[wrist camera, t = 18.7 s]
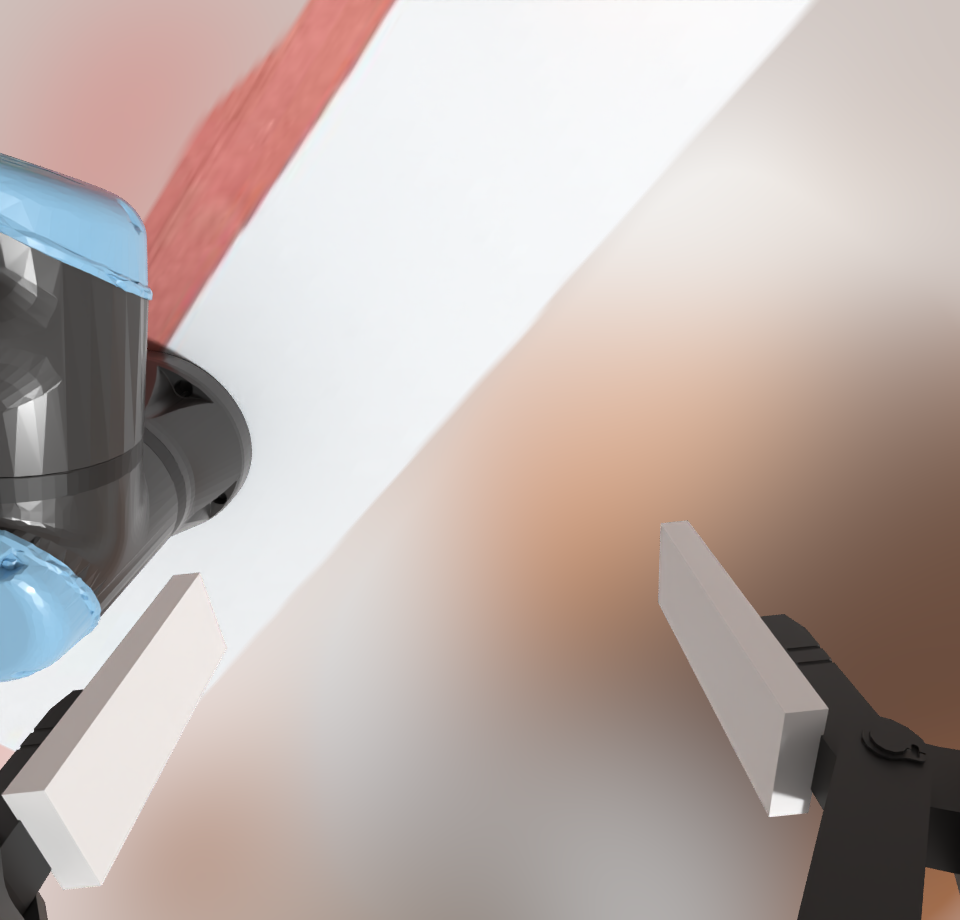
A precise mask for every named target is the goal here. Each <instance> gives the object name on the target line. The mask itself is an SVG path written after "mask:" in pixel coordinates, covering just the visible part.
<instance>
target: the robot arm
mask: <svg viewBox="0 0 960 920" xmlns="http://www.w3.org/2000/svg"><path fill="white" fill-rule="evenodd" d="M152 295H153V293H152V291H151V289H150V288H149V286H148V270H147V235H146V230H145V226H144V224H143V221H142V220H141V218H140V216H139V215H138V213H137V212H136V211H135V210H134V208H133V207H131V205H130V204H128V203H127V202H126V201H125V200H123V199H122V198H120V197H119V196H117V195H115V194H114V193H111V192H109V191H107V190H104V189H102V188H99V187H97V186H94V185H92V184H89V183H86V182H83V181H81V180H78V179H75V178H73V177H70V176H67V175H64V174H61V173H58V172H55V171H53V170H50V169H47V168H44V167H41V166H38V165H34V164H32V163H29V162H26V161H23V160H20V159H17V158H14V157H11V156H8V155H4V154H2V153H0V682H6V681H11V680H16V679H20V678H24V677H27V676H30V675H32V674H34V673H35V672H37V671H40V670H42V669H44V668H46V667H49V666H50V665H52V664H53V663H54V662H56V661H57V660H59V659H60V658H61V657H62V656H63V655H64V654H65V653H66V652H67V651H68V650H70V649H71V648H72V647H73V646H74V645H75V644H76V643H77V642H78V641H80V640H81V639H82V638H83V637H84V636H86V635H88V634H89V633H90V632H91V631H92V630H93V629H94V628H95V627H96V626H97V625H98V621H99V620H100V617H101V616H102V615H103V613H104V612H105V611H106V610H107V609H108V608H109V607H110V605H111V604H112V603H113V602H114V601H115V600H116V599H117V597H118V596H119V595H120V594H121V593H122V592H123V591H124V589H125V588H126V587H127V586H128V585H129V584H130V583H131V581H132V580H133V579H134V578H135V577H136V576H137V575H138V573H139V572H140V571H141V570H142V569H143V568H144V566H145V565H146V564H147V563H148V562H149V561H150V560H151V558H152V557H153V556H154V555H155V554H156V553H157V552H158V550H159V549H160V548H161V547H162V546H163V545H164V544H165V542H166V541H167V540H168V539H169V538H170V537H171V536H173V535H176V534H178V533H180V532H183V531H185V530H188V529H190V528H192V527H195V526H197V525H199V524H202V523H204V522H206V521H208V520H209V519H211V518H213V517H214V516H216V515H217V514H218V513H219V512H221V511H222V510H223V509H224V508H225V507H226V506H227V505H228V504H229V503H230V502H231V500H232V499H233V498H234V497H235V495H236V494H237V493H238V491H239V490H240V489H241V487H242V485H243V484H244V482H245V480H246V478H247V475H248V472H249V469H250V464H251V457H252V446H251V438H250V433H249V430H248V426H247V423H246V421H245V419H244V416H243V414H242V412H241V410H240V409H239V407H238V405H237V404H236V402H235V401H234V399H233V398H232V397H231V395H230V394H229V393H228V392H227V391H226V390H225V388H224V387H223V386H222V385H221V384H220V383H219V382H217V381H216V380H215V379H214V378H213V377H212V376H210V375H209V374H208V373H206V372H205V371H203V370H202V369H200V368H199V367H197V366H195V365H194V364H192V363H190V362H188V361H186V360H183V359H181V358H178V357H176V356H173V355H170V354H166V353H162V352H157V351H150V350H147V331H148V302H149V300H152ZM658 597H659V598H658V603H659V605H660V607H661V609H662V611H663V613H664V614H665V616H666V618H667V620H668V622H669V624H670V626H671V628H672V630H673V632H674V634H675V636H676V637H677V640H678V642H679V643H680V645H681V647H682V649H683V651H684V653H685V655H686V657H687V659H688V661H689V663H690V665H691V667H692V669H693V671H694V673H695V675H696V677H697V679H698V680H699V682H700V684H701V686H702V688H703V690H704V692H705V694H706V696H707V698H708V700H709V702H710V704H711V705H712V708H713V709H714V711H715V713H716V715H717V717H718V719H719V721H720V723H721V725H722V727H723V729H724V731H725V733H726V735H727V737H728V739H729V740H730V742H731V744H732V746H733V748H734V750H735V752H736V754H737V756H738V758H739V760H740V762H741V764H742V765H743V767H744V769H745V772H746V773H747V775H748V777H749V779H750V781H751V783H752V785H753V787H754V789H755V791H756V793H757V795H758V797H759V799H760V801H761V803H762V804H763V806H764V808H765V810H766V812H767V814H768V816H769V817H773V816H782V815H792V814H801V813H808V811H809V806H810V800H811V796H812V792H813V794H814V796H815V797H816V799H817V801H818V802H819V804H820V805H821V807H822V809H823V810H824V811H823V815H822V820H821V823H820V828H819V832H818V836H817V840H816V844H815V848H814V852H813V857H812V861H811V865H810V869H809V873H808V877H807V881H806V885H805V890H804V894H803V898H802V902H801V906H800V910H799V915H798V919H797V920H921V914H922V902H923V889H924V877H925V867H928V868H933V869H937V870H942V871H947V872H951V873H954V874H955V878H956V882H957V885H958V889H959V893H960V750H955V749H949V748H942V747H937V746H933V745H929V744H925V743H924V741H923V740H922V739H921V738H920V737H919V736H917V735H916V734H915V733H914V732H913V731H911V730H910V729H909V728H907V727H905V726H903V725H901V724H899V723H897V722H895V721H893V720H891V719H887V718H883V717H880V716H879V715H878V714H877V713H876V712H875V711H874V710H873V708H872V707H871V706H870V705H869V703H867V701H866V700H865V699H864V697H863V696H862V695H861V694H860V693H859V692H858V690H857V689H856V688H855V687H854V686H853V684H852V683H851V682H850V681H849V680H848V678H847V677H846V676H845V675H844V674H843V672H842V671H841V670H840V669H839V668H838V666H837V665H836V664H835V663H832V661H831V658H830V657H829V656H828V655H827V653H826V652H825V651H824V650H823V649H821V648H820V645H819V644H818V643H817V641H816V640H815V639H814V638H813V637H812V635H811V634H810V633H809V632H808V631H807V630H806V629H805V628H804V627H803V626H801V625H800V624H798V623H797V622H795V621H794V620H792V619H791V618H789V617H788V616H786V615H785V614H781V615H772V616H763V617H760V616H759V615H758V614H757V612H756V611H755V610H754V608H753V607H752V606H751V604H750V603H749V602H748V600H747V599H746V598H745V596H744V595H743V594H742V592H741V591H740V590H739V588H738V587H737V586H736V584H735V583H734V582H733V580H732V579H731V578H730V577H729V575H728V574H727V572H726V571H725V570H724V568H723V567H722V566H721V564H720V563H719V562H718V560H717V559H716V558H715V556H714V555H713V554H712V552H711V551H710V550H709V548H708V547H707V546H706V544H705V543H704V542H703V540H702V539H701V537H700V536H699V535H698V534H697V532H696V531H695V529H694V528H693V527H692V526H691V524H690V523H689V522H688V521H680V522H669V523H661V531H660V565H659V596H658ZM226 649H227V647H226V644H225V641H224V638H223V635H222V633H221V630H220V627H219V624H218V621H217V619H216V616H215V613H214V610H213V607H212V605H211V602H210V599H209V596H208V594H207V591H206V588H205V585H204V582H203V580H202V577H201V574H200V573H191V574H182V575H173V576H172V578H171V579H170V580H169V581H168V583H167V584H166V585H165V587H164V588H163V589H162V590H161V592H160V593H159V594H158V596H157V597H156V598H155V599H154V601H153V602H152V603H151V604H150V606H149V607H148V608H147V610H146V611H145V612H144V613H143V615H142V616H141V617H140V619H139V620H138V621H137V622H136V624H135V625H134V626H133V627H132V629H131V630H130V631H129V633H128V634H127V635H126V636H125V638H124V639H123V640H122V642H121V643H120V644H119V645H118V647H117V648H116V649H115V650H114V652H113V653H112V654H111V656H110V657H109V658H108V659H107V661H106V662H105V663H104V665H103V666H102V667H101V668H100V670H99V671H98V672H97V673H96V675H95V676H94V677H93V679H92V680H91V681H90V682H89V684H88V685H87V686H86V688H85V689H84V690H74V691H72V692H71V693H70V694H69V695H67V696H66V697H65V698H64V699H62V700H61V701H60V702H59V703H57V704H56V705H55V706H54V707H52V708H51V709H50V710H49V711H48V713H47V714H46V715H45V716H44V717H43V719H42V720H41V721H40V722H39V724H38V725H37V726H36V727H35V728H34V732H33V733H30V735H29V736H28V737H27V738H26V739H25V741H24V742H23V743H22V744H21V745H20V746H21V748H20V750H16V752H15V753H14V754H13V755H12V756H11V758H10V759H9V760H8V761H7V763H6V764H5V765H4V766H3V768H2V769H1V770H0V920H48V918H47V912H46V906H45V902H44V900H43V898H42V897H41V895H40V893H39V892H38V891H39V889H40V888H41V886H42V884H43V883H44V881H45V880H46V878H47V876H48V875H49V873H50V871H51V872H52V874H53V875H54V877H55V878H56V880H57V881H58V883H59V884H60V886H61V887H62V889H63V890H65V889H75V888H85V887H93V886H102V884H103V882H104V880H105V878H106V876H107V874H108V873H109V871H110V869H111V867H112V865H113V863H114V861H115V859H116V857H117V856H118V854H119V852H120V850H121V848H122V846H123V844H124V842H125V840H126V838H127V836H128V835H129V833H130V831H131V829H132V827H133V825H134V823H135V822H136V820H137V818H138V816H139V814H140V812H141V810H142V808H143V806H144V804H145V803H146V801H147V799H148V797H149V795H150V793H151V791H152V789H153V787H154V786H155V784H156V782H157V780H158V778H159V776H160V774H161V772H162V770H163V768H164V767H165V765H166V763H167V761H168V759H169V757H170V755H171V753H172V751H173V750H174V748H175V746H176V744H177V742H178V740H179V738H180V736H181V734H182V733H183V731H184V729H185V727H186V725H187V723H188V721H189V719H190V717H191V716H192V714H193V712H194V710H195V708H196V706H197V704H198V702H199V700H200V698H201V697H202V695H203V693H204V691H205V689H206V687H207V685H208V683H209V681H210V680H211V678H212V676H213V674H214V672H215V670H216V668H217V666H218V664H219V663H220V661H221V659H222V657H223V655H224V653H225V651H226Z"/></svg>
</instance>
